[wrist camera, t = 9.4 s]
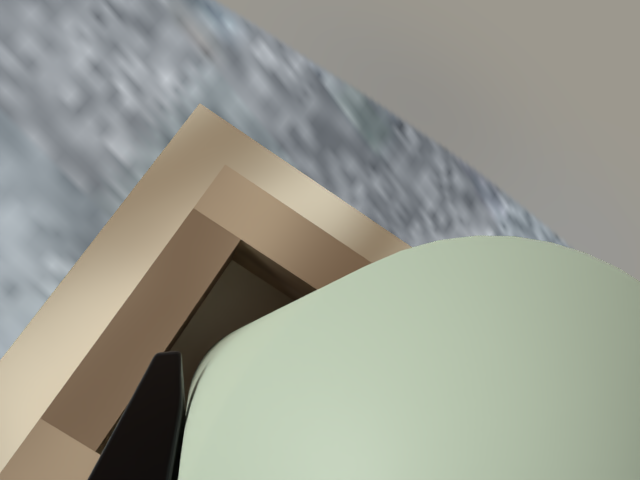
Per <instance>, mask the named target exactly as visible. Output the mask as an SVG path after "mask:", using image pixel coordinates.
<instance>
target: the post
mask: <svg viewBox="0 0 640 480" xmlns="http://www.w3.org/2000/svg"><path fill="white" fill-rule="evenodd" d="M178 480H640V281H638V280H637V279H635V278H633V277H632V276H630V275H629V274H626V273H625V272H624V271H622V270H620V269H619V268H617V267H614V266H612V265H610V264H608V263H606V262H604V261H602V260H599V259H597V258H595V257H593V256H591V255H588V254H586V253H584V252H580V251H577V250H574V249H571V248H567V247H564V246H561V245H557V244H554V243H551V242H545V241H539V240H533V239H527V238H521V237H515V236H470V237H462V238H454V239H446V240H439V241H435V242H431V243H427V244H424V245H420V246H416V247H413V248H409V249H405V250H402V251H399V252H397V253H395V254H392V255H390V256H388V257H385V258H383V259H381V260H378V261H376V262H374V263H371V264H369V265H367V266H364V267H362V268H360V269H358V270H356V271H354V272H352V273H350V274H348V275H346V276H344V277H342V278H340V279H338V280H336V281H334V282H332V283H330V284H328V285H326V286H324V287H322V288H320V289H318V290H316V291H314V292H312V293H310V294H308V295H306V296H304V297H302V298H300V299H298V300H296V301H294V302H292V303H290V304H288V305H286V306H284V307H282V308H280V309H278V310H276V311H274V312H272V313H269V314H267V315H265V316H263V317H261V318H259V319H257V320H255V321H253V322H251V323H249V324H247V325H245V326H243V327H241V328H239V329H237V330H235V331H233V332H231V333H230V334H228V335H226V336H225V337H223V338H222V339H220V340H219V341H218V342H217V343H215V344H214V345H213V346H212V347H211V348H210V349H209V350H208V352H207V353H206V354H205V355H204V357H203V358H202V359H201V361H200V363H199V365H198V366H197V368H196V370H195V372H194V375H193V377H192V380H191V384H190V387H189V393H188V399H187V408H186V420H185V429H184V436H183V443H182V450H181V459H180V467H179V476H178Z"/></svg>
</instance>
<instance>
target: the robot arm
mask: <svg viewBox="0 0 640 480" xmlns="http://www.w3.org/2000/svg"><path fill="white" fill-rule="evenodd" d="M185 420H186V413H185V394H184V380H183V367H182V355H181V352H180V351H168V352H159V353H157V354H155V355H154V357H153V359H152V360H151V362H150V364H149V366H148V368H147V370H146V372H145V373H144V375H143V377H142V379H141V381H140V383H139V385H138V386H137V388H136V390H135V392H134V394H133V396H132V398H131V399H130V401H129V403H128V405H127V407H126V409H125V411H124V412H123V414H122V416H121V418H120V420H119V422H118V424H117V425H116V427H115V429H114V431H113V433H112V435H111V437H110V438H109V440H108V442H107V444H106V446H105V448H104V450H103V451H102V453H101V455H100V457H99V459H98V461H97V463H96V464H95V466H94V468H93V470H92V472H91V474H90V476H89V477H88V479H87V480H178V476H179V467H180V459H181V450H182V443H183V436H184V429H185Z"/></svg>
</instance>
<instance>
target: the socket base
mask: <svg viewBox="0 0 640 480" xmlns="http://www.w3.org/2000/svg"><path fill="white" fill-rule="evenodd" d="M409 248H412V247H411V246H409V245H408V244H406V243H405V242H403V241H402V240H400V239H399V238H397V237H396V236H394V235H393V234H392V233H390V232H389V231H387V230H386V229H384V228H383V227H381V226H380V225H378V224H377V223H375V222H374V221H372V220H371V219H369V218H368V217H366V216H365V215H364V214H362V213H361V212H359V211H358V210H356V209H355V208H353V207H352V206H350V205H349V204H347V203H346V202H344V201H343V200H341V199H340V198H338V197H337V196H336V195H334V194H333V193H331V192H330V191H328V190H327V189H325V188H324V187H322V186H321V185H319V184H318V183H316V182H315V181H313V180H312V179H310V178H309V177H308V176H306V175H305V174H303V173H302V172H300V171H299V170H297V169H296V168H294V167H293V166H291V165H290V164H288V163H287V162H285V161H284V160H282V159H281V158H280V157H278V156H277V155H275V154H274V153H272V152H271V151H269V150H268V149H266V148H265V147H263V146H262V145H260V144H259V143H257V142H256V141H254V140H253V139H252V138H250V137H249V136H247V135H246V134H244V133H243V132H241V131H240V130H238V129H237V128H235V127H234V126H232V125H231V124H229V123H228V122H226V121H225V120H224V119H222V118H221V117H219V116H218V115H216V114H215V113H213V112H212V111H210V110H209V109H207V108H206V107H204V106H203V105H201V104H199V105H198V106H197V108H196V109H195V110H194V112H193V113H192V114H191V115H190V117H189V118H188V119H187V121H186V122H185V123H184V124H183V126H182V127H181V128H180V130H179V131H178V132H177V133H176V135H175V136H174V137H173V139H172V140H171V141H170V142H169V144H168V145H167V146H166V148H165V149H164V150H163V151H162V153H161V154H160V155H159V157H158V158H157V159H156V160H155V162H154V163H153V164H152V166H151V167H150V168H149V170H148V171H147V172H146V173H145V175H144V176H143V177H142V179H141V180H140V181H139V182H138V184H137V185H136V186H135V188H134V189H133V190H132V191H131V193H130V194H129V195H128V197H127V198H126V199H125V200H124V202H123V203H122V204H121V206H120V207H119V208H118V209H117V211H116V212H115V213H114V215H113V216H112V217H111V218H110V220H109V221H108V222H107V224H106V225H105V226H104V227H103V229H102V230H101V231H100V233H99V234H98V235H97V236H96V238H95V239H94V240H93V242H92V243H91V244H90V245H89V247H88V248H87V249H86V251H85V252H84V253H83V254H82V256H81V257H80V258H79V260H78V261H77V262H76V263H75V265H74V266H73V267H72V269H71V270H70V271H69V272H68V274H67V275H66V276H65V278H64V279H63V280H62V281H61V283H60V284H59V285H58V287H57V288H56V289H55V291H54V292H53V293H52V294H51V296H50V297H49V298H48V300H47V301H46V302H45V303H44V305H43V306H42V307H41V309H40V310H39V311H38V312H37V314H36V315H35V316H34V318H33V319H32V320H31V321H30V323H29V324H28V325H27V327H26V328H25V329H24V330H23V332H22V333H21V334H20V336H19V337H18V338H17V339H16V341H15V342H14V343H13V345H12V346H11V347H10V348H9V350H8V351H7V352H6V354H5V355H4V356H3V357H2V359H1V360H0V480H87V479H88V477H89V476H90V474H91V472H92V470H93V468H94V466H95V464H96V463H97V461H98V459H99V457H100V455H101V453H102V451H103V450H104V448H105V446H106V444H107V442H108V440H109V438H110V437H111V435H112V433H113V431H114V429H115V427H116V425H117V424H118V422H119V420H120V418H121V416H122V414H123V412H124V411H125V409H126V407H127V405H128V403H129V401H130V399H131V398H132V396H133V394H134V392H135V390H136V388H137V386H138V385H139V383H140V381H141V379H142V377H143V375H144V373H145V372H146V370H147V368H148V366H149V364H150V362H151V360H152V359H153V357H154V355H155V354H157V353H159V352H168V351H180V352H181V355H182V367H183V380H184V394H185V413H186V408H187V399H188V393H189V387H190V384H191V380H192V377H193V375H194V372H195V370H196V368H197V366H198V365H199V363H200V361H201V359H202V358H203V357H204V355H205V354H206V353H207V352H208V350H209V349H210V348H211V347H212V346H213V345H214V344H215V343H217V342H218V341H219V340H220V339H222V338H223V337H225V336H226V335H228V334H230V333H231V332H233V331H235V330H237V329H239V328H241V327H243V326H245V325H247V324H249V323H251V322H253V321H255V320H257V319H259V318H261V317H263V316H265V315H267V314H269V313H272V312H274V311H276V310H278V309H280V308H282V307H284V306H286V305H288V304H290V303H292V302H294V301H296V300H298V299H300V298H302V297H304V296H306V295H308V294H310V293H312V292H314V291H316V290H318V289H320V288H322V287H324V286H326V285H328V284H330V283H332V282H334V281H336V280H338V279H340V278H342V277H344V276H346V275H348V274H350V273H352V272H354V271H356V270H358V269H360V268H362V267H364V266H367V265H369V264H371V263H374V262H376V261H378V260H381V259H383V258H385V257H388V256H390V255H392V254H395V253H397V252H399V251H402V250H405V249H409Z"/></svg>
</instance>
